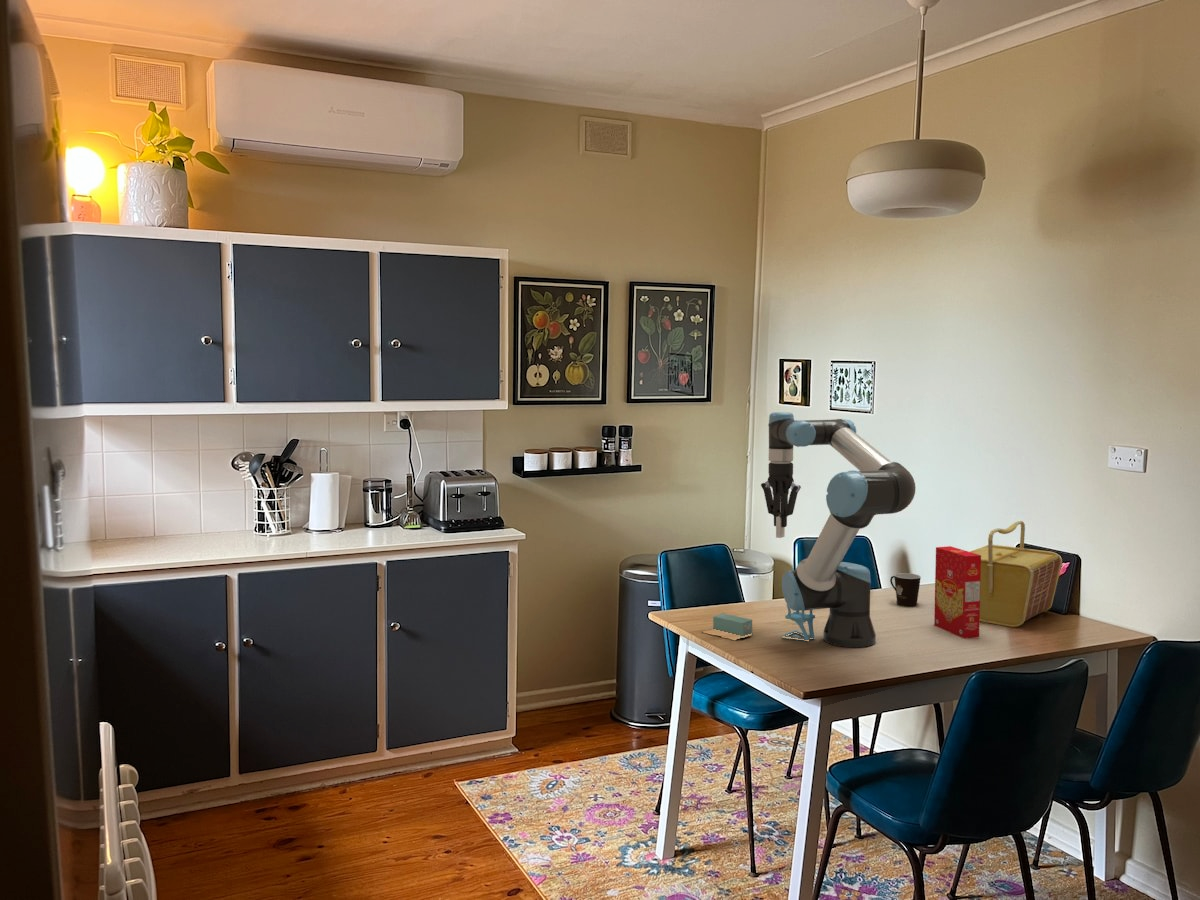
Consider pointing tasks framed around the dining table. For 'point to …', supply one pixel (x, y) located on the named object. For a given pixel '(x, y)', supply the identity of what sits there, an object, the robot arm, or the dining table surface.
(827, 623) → the robot arm
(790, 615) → the chair
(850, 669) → the dining table surface
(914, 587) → the coffee mug
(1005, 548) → the picnic basket
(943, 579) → the food packaging
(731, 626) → the teal block
